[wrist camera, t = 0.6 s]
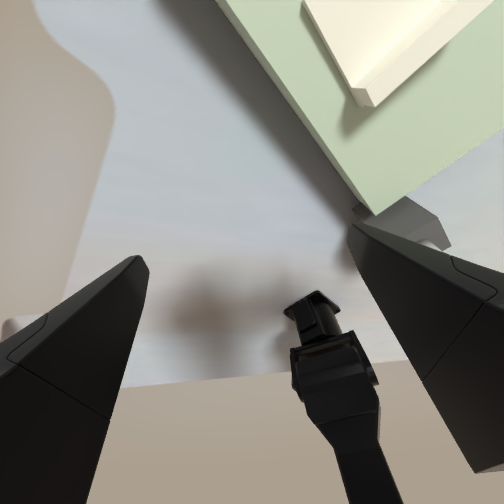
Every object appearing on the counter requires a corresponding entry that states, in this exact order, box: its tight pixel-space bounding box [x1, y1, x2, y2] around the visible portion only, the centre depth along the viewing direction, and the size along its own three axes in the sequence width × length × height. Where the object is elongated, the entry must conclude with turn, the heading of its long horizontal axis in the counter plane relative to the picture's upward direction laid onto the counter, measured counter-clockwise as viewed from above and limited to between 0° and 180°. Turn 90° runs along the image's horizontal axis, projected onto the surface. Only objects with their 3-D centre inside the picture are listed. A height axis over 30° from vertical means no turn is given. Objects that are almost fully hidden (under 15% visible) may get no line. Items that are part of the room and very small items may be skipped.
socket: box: [215, 0, 504, 216], centre depth 13 cm, size 24×12×4 cm, turn 44°
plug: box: [352, 196, 451, 252], centre depth 20 cm, size 4×4×9 cm
